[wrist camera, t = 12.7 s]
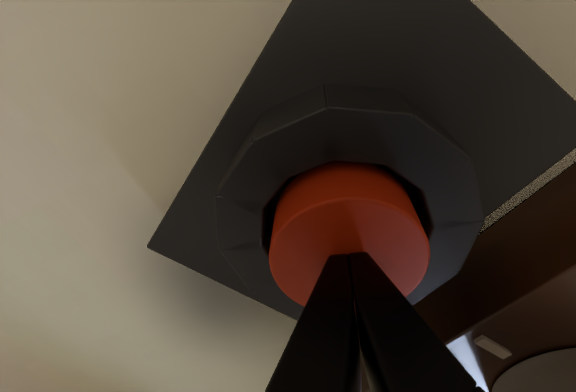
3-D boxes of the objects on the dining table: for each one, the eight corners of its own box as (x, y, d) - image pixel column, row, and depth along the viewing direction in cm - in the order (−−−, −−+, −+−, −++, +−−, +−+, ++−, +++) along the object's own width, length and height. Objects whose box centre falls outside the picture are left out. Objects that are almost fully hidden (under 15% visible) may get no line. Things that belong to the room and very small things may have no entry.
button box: (328, 303, 15) (333, 382, 12) (163, 218, 13) (120, 288, 10) (561, 106, 10) (669, 159, 7) (348, -93, 8) (371, -137, 5)
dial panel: (473, 408, 19) (499, 477, 17) (336, 341, 16) (340, 410, 14) (750, 281, 13) (862, 359, 10) (601, 142, 10) (700, 199, 8)
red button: (350, 284, 10) (357, 334, 9) (250, 229, 9) (239, 275, 8) (440, 207, 9) (467, 253, 7) (330, 130, 8) (334, 166, 6)
